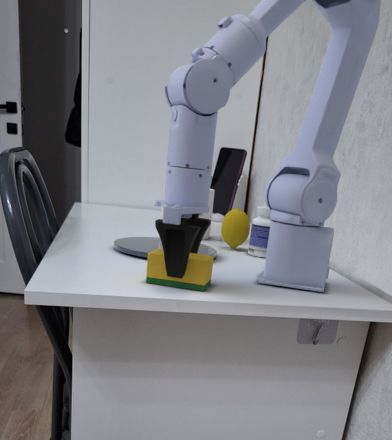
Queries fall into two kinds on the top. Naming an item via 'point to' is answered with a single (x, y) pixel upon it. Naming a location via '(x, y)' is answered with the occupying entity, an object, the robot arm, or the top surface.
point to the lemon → (235, 228)
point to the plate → (150, 246)
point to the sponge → (193, 278)
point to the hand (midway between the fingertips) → (179, 273)
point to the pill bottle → (260, 232)
